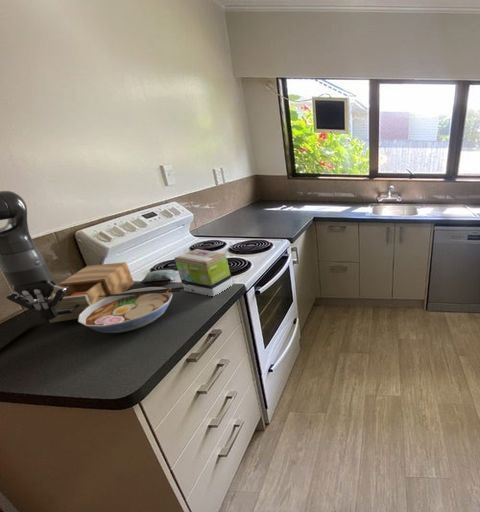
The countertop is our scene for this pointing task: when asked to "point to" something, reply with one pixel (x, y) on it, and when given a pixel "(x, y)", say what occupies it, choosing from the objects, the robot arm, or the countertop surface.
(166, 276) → the packaged food
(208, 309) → the countertop surface
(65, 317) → the drawer
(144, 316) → the ramen bowl
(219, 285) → the tea box
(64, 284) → the cabinet
